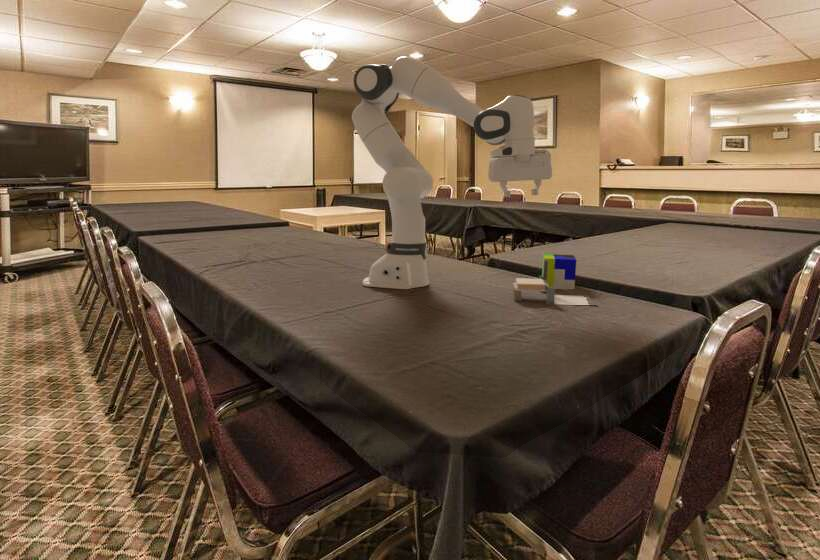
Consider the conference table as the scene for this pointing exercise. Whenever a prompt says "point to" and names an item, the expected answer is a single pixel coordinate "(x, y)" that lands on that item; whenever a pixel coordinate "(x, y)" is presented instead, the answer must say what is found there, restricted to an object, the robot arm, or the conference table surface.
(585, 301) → the mat
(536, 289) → the flipper
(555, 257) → the puzzle toy
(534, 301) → the conference table surface
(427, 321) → the conference table surface
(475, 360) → the conference table surface
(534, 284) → the tile
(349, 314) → the conference table surface
